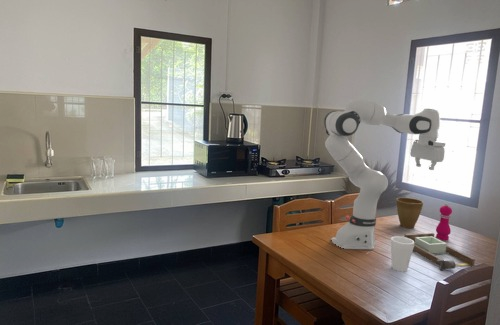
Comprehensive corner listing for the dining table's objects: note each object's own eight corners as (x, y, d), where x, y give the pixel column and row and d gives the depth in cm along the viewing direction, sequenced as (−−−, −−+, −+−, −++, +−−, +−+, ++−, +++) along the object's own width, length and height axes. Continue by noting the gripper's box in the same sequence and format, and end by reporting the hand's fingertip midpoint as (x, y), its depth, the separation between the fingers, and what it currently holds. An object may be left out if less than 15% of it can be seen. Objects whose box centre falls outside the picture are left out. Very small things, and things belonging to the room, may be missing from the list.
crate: (428, 254, 181) (429, 244, 180) (414, 247, 190) (415, 237, 189) (445, 253, 183) (446, 243, 182) (430, 246, 193) (431, 236, 192)
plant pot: (422, 225, 228) (425, 200, 226) (418, 232, 216) (421, 205, 213) (396, 220, 236) (399, 196, 234) (391, 226, 223) (394, 200, 221)
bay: (439, 272, 162) (440, 259, 161) (394, 245, 191) (396, 234, 190) (480, 268, 168) (482, 256, 167) (431, 243, 197) (432, 232, 196)
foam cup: (392, 262, 170) (395, 234, 169) (413, 268, 165) (417, 240, 163) (385, 268, 163) (388, 240, 161) (406, 275, 157) (410, 245, 155)
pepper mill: (446, 236, 210) (450, 202, 207) (451, 241, 202) (456, 205, 199) (432, 235, 210) (437, 201, 207) (437, 240, 203) (442, 204, 200)
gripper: (408, 139, 199) (406, 164, 201) (437, 143, 180) (433, 171, 182) (419, 139, 201) (416, 164, 203) (448, 143, 181) (444, 171, 183)
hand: (424, 168), depth 192 cm, fingers open, 8 cm apart
